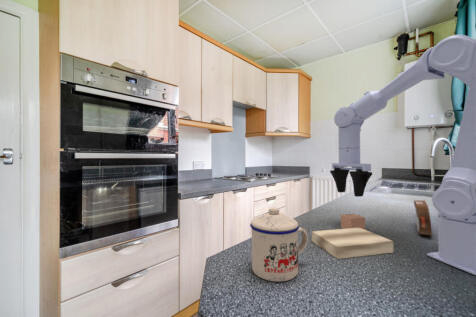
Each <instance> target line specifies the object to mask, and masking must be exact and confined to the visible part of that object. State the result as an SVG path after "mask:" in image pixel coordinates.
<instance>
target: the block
mask: <svg viewBox="0 0 476 317" xmlns="http://www.w3.org/2000/svg"><path fill="white" fill-rule="evenodd" d="M358 227H359V228H362V229H364V230H366V218H365V216H361V215H359V214H355V213H345V214H340V229H347V228H358Z"/></svg>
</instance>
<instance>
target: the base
mask: <svg viewBox="0 0 476 317" xmlns="http://www.w3.org/2000/svg"><path fill="white" fill-rule="evenodd" d="M311 242H312V243H314V244H315V245H317V246H318V247H319V248H321V249H323V250H324V251H325V252H327V253H328V254H330V255H331V256H333V257H334V258H336V260H339V259H340V260H341V259H348V258H358V257H367V256H373V255H374V256H375V255H383V254H390V253H391V254H392V253H394V241H393V240H391V239H389V238H386V237H384V236H381V235H379V234H376V233H375V232H374V233H373V232H371V231H369V230H367V229H365V230H364V229H362V228H359V227H358V228H347V229H343V228H336V229H326V230H323V229H322V230H313V231H311Z"/></svg>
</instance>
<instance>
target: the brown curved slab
mask: <svg viewBox="0 0 476 317" xmlns="http://www.w3.org/2000/svg"><path fill="white" fill-rule="evenodd" d="M413 205H414V208H415V209H414V210H415V224H416V230H417V232H418V234H419V235H421V236H428V237H432V236H433V235H432V234H433V233H432V222H431V215H430V210H429V209H430V208H429V205H428V204H427V202H426V200H425V199H424V200H419V199H417V200H414V201H413Z"/></svg>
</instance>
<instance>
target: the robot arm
mask: <svg viewBox="0 0 476 317" xmlns="http://www.w3.org/2000/svg"><path fill="white" fill-rule="evenodd" d="M445 74H448V75H449V76H451V77H453V78H456V79H457V80H458V81H461V83H463V84H465V85H466V86H467V87H468V92H467V95H466V100H465V104H464V108H463V113H462V117H461V121H460V126H459V128H458V129H459V130H458V134H457V138H456V143H455V146H454V150H453V156H452V160H451V165H450V168H449V169H448V171H446V173H445V175H444V176H443V178H442V181H441V184H440V186H439V187H438V188H437V189H436V190H435V191H434V192H433V194H432V195H431V196H432V197H431V201H432V205H433V207H434V209H436V210H437V236H438V237H437V239H438V240H437V242H438V243H437V244H438V245H437V246H438V251H435V252H434V251H433V252H427V253H426V255H427V257H430V258H432V259H434V260H437V261H439V262H442V263H444V264H447V265H449V266H452V267H454V268H457V269H459V270H462V271H464V272H466V273H469V274H472V275H474V276H476V39H475V38H473V37H472V36H471V37H470V36H468V35H465V34H453V35H450V36H447V37H445V38H443V39H441V40H440V41H438V43H436V44H435V46H433V47H431V48H429V49H427V50H426V51H424V52H423V53H422V54H421V55H420V57H419V58H418V59H417V61H415V62H414V63H413V64H412V65H410V66H409V67H408V68H407V69H405V70H404V71H403V72H401V73H400V74H398V75H397V76H396V77H395V78H393V79H392V80H391V81H389V83H387V84H386V85H384V86H383V87H382V88H381V89H379V90H375V89H373V90H370V91H369V90H368V91H365V92H364V93H363V96H361V98H359V99H357V100H355V102H354V103H353V102H352V103H350V104H349V106H347V107H346V106H343V107H340V108H339V109H338V110H337V111H336V112H335V115H334V117H333V120H334V123H335V125H336V126H337V127H338V162H331V170H329V173H330V174H331V176H332V179H333V180H334V183H335V187H336V191H337V192H338V193H346V189H347V179H348V175H349V174H350V178H351V181H352V187H353V194H354V197H363V196H364V194H365V189H366V186H367V184H368V182H369V180H370V178H371V177H372V175H373V172H372V163H361V132H362V131H361V130H362V129H361V128H362V126H363V124H364V123H365V120H367V119H368V118H371V117H372V116H374V115H376V114H377V113H379V112H380V111H382V110H383V109H386V107H387V104H388V102H389V101H390V100H391V99H393V98H395V97H396V96H399V95H400V94H402V93H404V92H405V91H407V90H410V88H413V87H414V86H416V85H418V84H419V83H422V82H423V81H427V80H428V81H429V80H432V81H433V80H444V79H445V78H446V77H445Z"/></svg>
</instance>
